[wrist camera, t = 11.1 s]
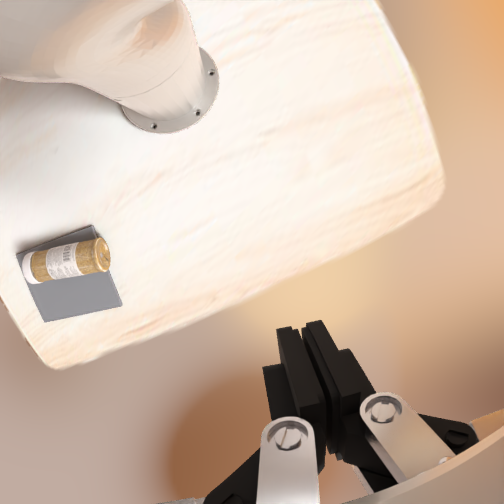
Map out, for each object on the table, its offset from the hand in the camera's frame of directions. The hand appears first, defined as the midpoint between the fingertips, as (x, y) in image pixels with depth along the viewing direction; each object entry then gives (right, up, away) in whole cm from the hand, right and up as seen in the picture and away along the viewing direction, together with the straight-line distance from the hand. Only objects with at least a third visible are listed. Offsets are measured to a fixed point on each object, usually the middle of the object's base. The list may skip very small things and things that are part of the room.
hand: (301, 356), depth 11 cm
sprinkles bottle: (-20, +4, +24) cm, 32 cm away
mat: (-30, 0, +27) cm, 40 cm away
